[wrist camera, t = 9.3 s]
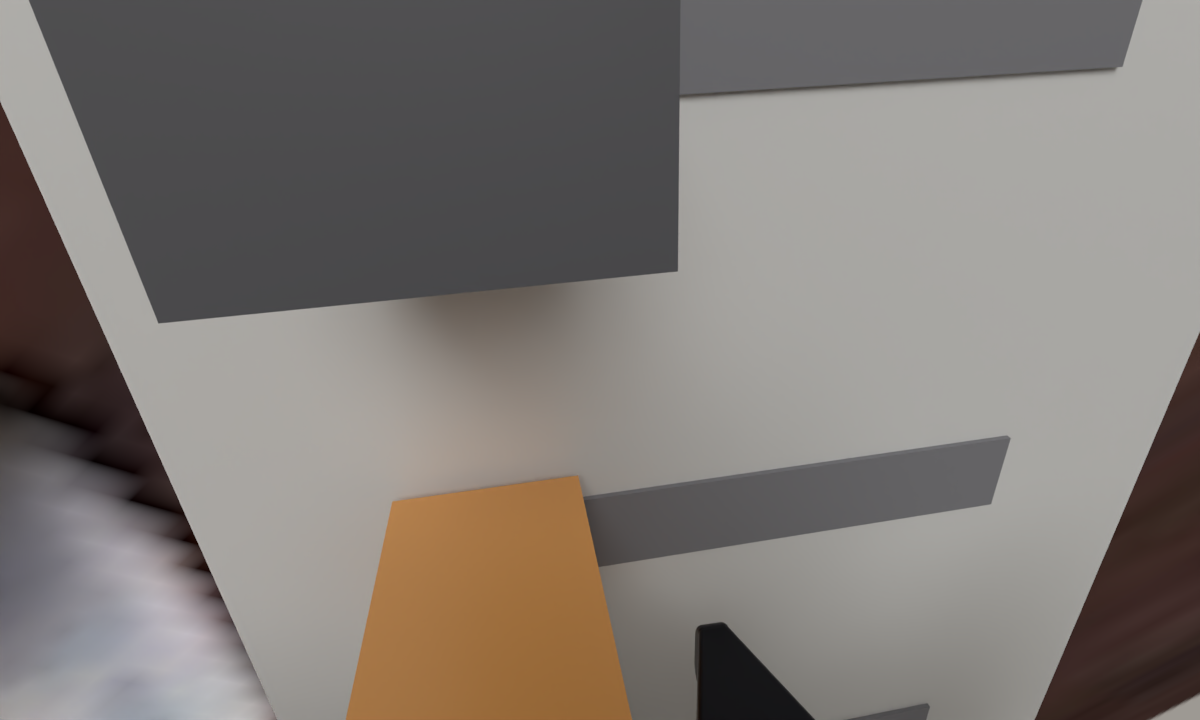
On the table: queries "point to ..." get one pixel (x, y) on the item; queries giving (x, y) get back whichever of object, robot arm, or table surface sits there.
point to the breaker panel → (645, 306)
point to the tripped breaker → (489, 612)
